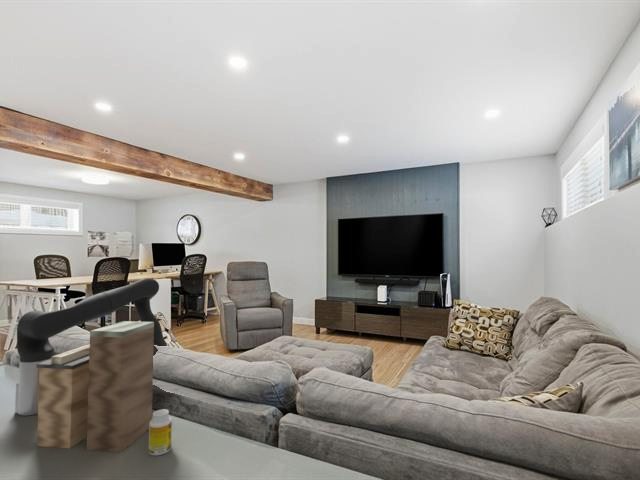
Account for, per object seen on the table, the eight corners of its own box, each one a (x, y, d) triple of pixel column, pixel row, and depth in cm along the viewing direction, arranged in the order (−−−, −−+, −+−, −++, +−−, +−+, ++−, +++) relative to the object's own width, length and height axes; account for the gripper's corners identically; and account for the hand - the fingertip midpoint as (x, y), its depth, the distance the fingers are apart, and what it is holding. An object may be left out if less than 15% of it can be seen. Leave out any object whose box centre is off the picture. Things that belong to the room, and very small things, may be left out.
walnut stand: (86, 449, 95) (90, 330, 96) (121, 424, 109) (124, 321, 110) (120, 452, 94) (123, 331, 95) (151, 426, 108) (154, 321, 109)
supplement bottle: (171, 453, 93) (172, 414, 94) (148, 458, 91) (149, 418, 91) (170, 443, 98) (171, 406, 99) (148, 448, 96) (149, 410, 96)
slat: (51, 363, 97) (51, 356, 98) (108, 343, 119) (108, 337, 119) (60, 364, 97) (61, 357, 97) (116, 344, 119) (116, 338, 119)
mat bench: (33, 446, 96) (36, 364, 97) (82, 418, 113) (84, 347, 114) (70, 449, 95) (72, 365, 96) (113, 420, 112) (115, 348, 113)
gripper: (123, 337, 135) (96, 323, 121) (157, 338, 133) (134, 324, 120) (115, 357, 131) (87, 344, 117) (151, 358, 129) (126, 346, 116)
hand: (111, 334), depth 118 cm, fingers open, 8 cm apart
